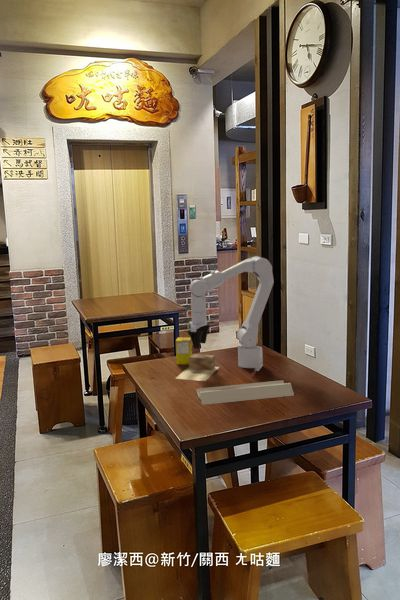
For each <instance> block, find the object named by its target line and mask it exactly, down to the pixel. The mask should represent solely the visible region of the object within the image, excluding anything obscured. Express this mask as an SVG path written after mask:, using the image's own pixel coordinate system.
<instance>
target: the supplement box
mask: <svg viewBox="0 0 400 600" xmlns="http://www.w3.org/2000/svg"><path fill="white" fill-rule="evenodd" d="M175 354H176V355H175V357H176V365H189V357H190V356H191V355H192V354H193V343H192V340H191V337H190V336H183V337H182V336H179V337H177V338H176V339H175Z"/></svg>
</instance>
